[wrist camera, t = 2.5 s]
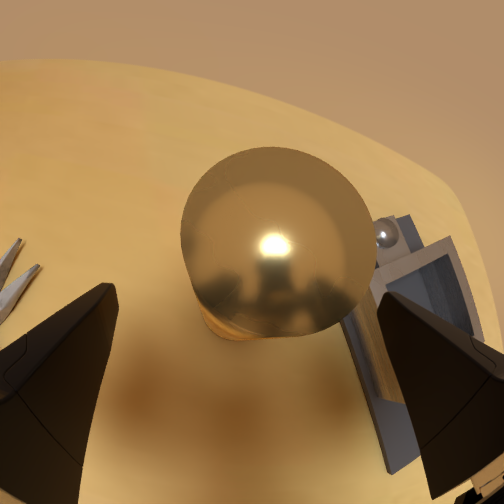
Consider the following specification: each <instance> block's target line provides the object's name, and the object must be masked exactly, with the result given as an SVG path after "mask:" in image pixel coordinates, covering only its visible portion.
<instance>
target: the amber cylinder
mask: <svg viewBox="0 0 504 504" xmlns="http://www.w3.org/2000/svg"><path fill="white" fill-rule="evenodd" d="M180 235H181V248H182V253H183V257H184V261H185V265H186V268H187V271H188V274H189V277H190V280H191V283H192V286H193V289H194V292H195V295H196V298H197V300H198V303H199V306H200V309H201V312H202V315H203V318H204V320H205V322H206V324H207V326H208V327H209V328H210V329H211V330H212V331H213V332H214V333H215V334H216V335H218V336H220V337H222V338H224V339H228V340H257V339H273V338H287V337H298V336H304V335H309V334H313V333H316V332H319V331H322V330H325V329H327V328H329V327H330V326H332V325H334V324H336V323H338V322H339V321H340V320H342V319H343V318H344V317H346V316H347V315H348V314H349V313H350V312H351V311H352V310H353V309H354V308H355V307H356V306H357V305H358V303H359V302H360V301H361V299H362V298H363V296H364V295H365V293H366V291H367V289H368V287H369V285H370V282H371V280H372V277H373V274H374V270H375V265H376V257H377V241H376V234H375V229H374V225H373V222H372V218H371V216H370V213H369V211H368V208H367V206H366V205H365V203H364V201H363V199H362V197H361V196H360V195H359V193H358V192H357V190H356V189H355V188H354V186H353V185H352V184H351V183H350V182H349V181H348V180H347V179H346V178H345V177H344V176H343V175H342V174H341V173H340V172H339V171H337V170H336V169H335V168H333V167H332V166H330V165H329V164H327V163H326V162H324V161H322V160H320V159H319V158H316V157H314V156H312V155H310V154H307V153H304V152H301V151H298V150H293V149H288V148H280V147H261V148H253V149H249V150H245V151H241V152H238V153H236V154H233V155H231V156H229V157H227V158H225V159H223V160H222V161H220V162H218V163H217V164H216V165H214V166H213V167H212V168H210V169H209V170H208V171H207V172H206V173H205V174H204V175H203V176H202V177H201V179H200V180H199V181H198V183H197V184H196V185H195V186H194V188H193V190H192V192H191V194H190V195H189V197H188V200H187V202H186V205H185V208H184V211H183V216H182V220H181V233H180Z"/></svg>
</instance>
